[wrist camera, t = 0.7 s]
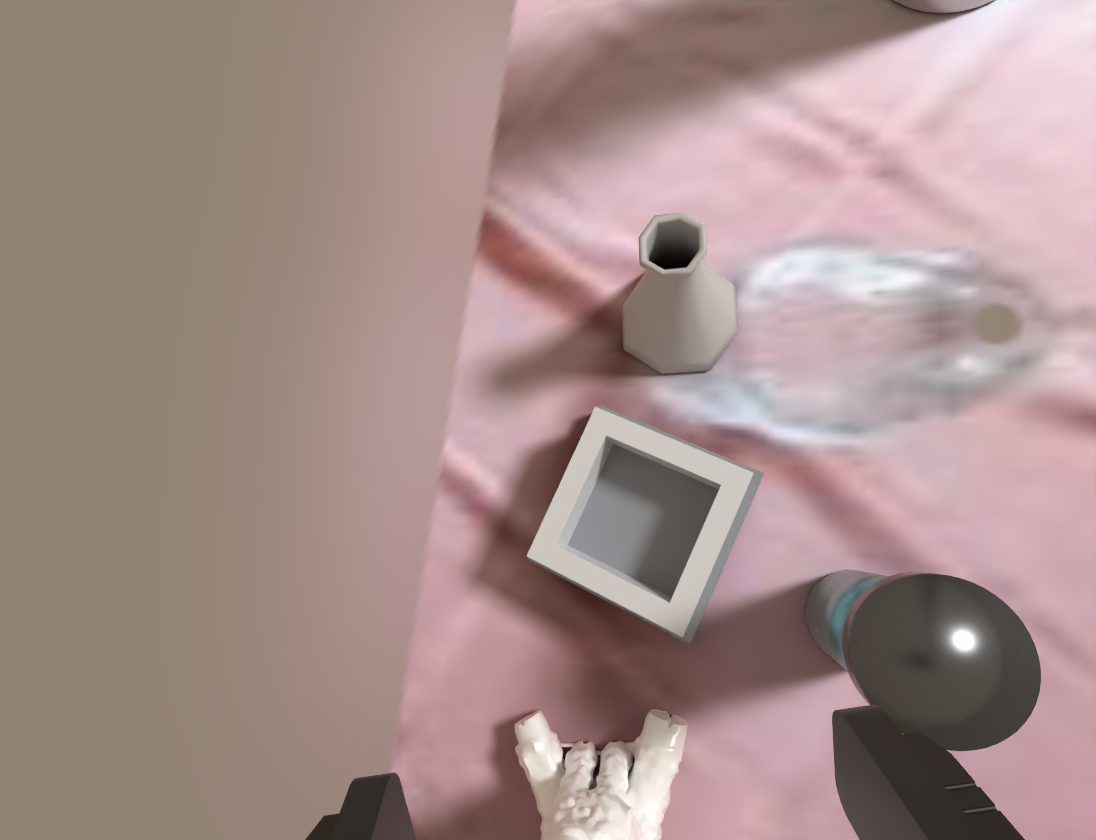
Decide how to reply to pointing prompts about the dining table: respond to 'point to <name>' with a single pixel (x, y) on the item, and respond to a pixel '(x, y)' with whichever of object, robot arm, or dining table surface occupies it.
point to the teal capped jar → (930, 653)
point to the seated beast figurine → (602, 779)
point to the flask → (678, 300)
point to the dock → (645, 521)
